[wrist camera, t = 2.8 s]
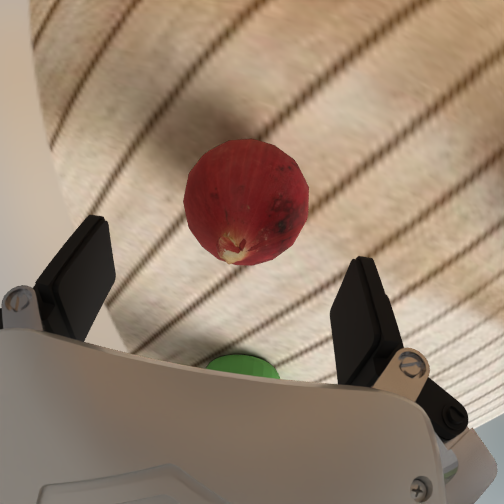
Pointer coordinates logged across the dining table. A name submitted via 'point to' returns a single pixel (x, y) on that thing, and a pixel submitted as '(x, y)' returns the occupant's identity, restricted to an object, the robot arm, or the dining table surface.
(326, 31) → the dining table surface
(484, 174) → the dining table surface
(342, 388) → the robot arm
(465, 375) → the dining table surface
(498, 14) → the dining table surface
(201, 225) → the onion
